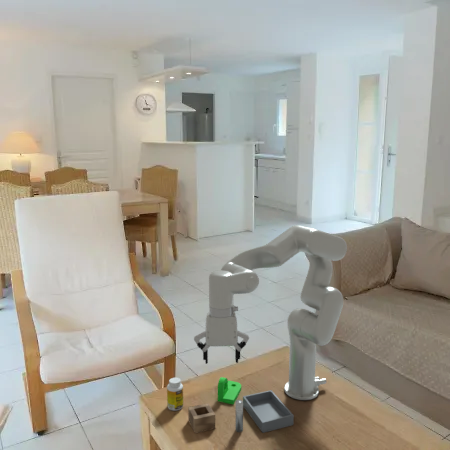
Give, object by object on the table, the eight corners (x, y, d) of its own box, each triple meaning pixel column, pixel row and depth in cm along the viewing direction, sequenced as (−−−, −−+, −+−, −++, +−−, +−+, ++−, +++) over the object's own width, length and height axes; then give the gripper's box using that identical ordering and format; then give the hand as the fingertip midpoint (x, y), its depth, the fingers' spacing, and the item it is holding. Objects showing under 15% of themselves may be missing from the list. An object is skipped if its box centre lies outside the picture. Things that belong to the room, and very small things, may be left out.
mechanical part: (233, 405, 163) (233, 384, 162) (217, 402, 165) (217, 381, 164) (243, 387, 174) (243, 368, 173) (228, 385, 176) (228, 366, 175)
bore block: (208, 416, 156) (208, 403, 155) (215, 428, 150) (215, 414, 149) (188, 420, 154) (188, 407, 153) (194, 433, 148) (194, 419, 147)
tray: (271, 399, 166) (271, 390, 166) (293, 425, 152) (293, 415, 151) (242, 405, 163) (242, 396, 162) (262, 432, 148) (262, 422, 147)
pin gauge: (241, 426, 151) (241, 399, 149) (244, 431, 149) (244, 403, 147) (234, 428, 150) (234, 400, 148) (237, 432, 148) (237, 404, 146)
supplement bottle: (176, 413, 158) (175, 386, 156) (164, 408, 161) (163, 381, 159) (186, 405, 163) (186, 379, 161) (174, 400, 166) (173, 374, 164)
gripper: (248, 305, 147) (247, 355, 150) (193, 306, 146) (194, 356, 150) (250, 314, 140) (249, 366, 143) (193, 315, 139) (194, 367, 142)
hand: (221, 361), depth 146 cm, fingers open, 9 cm apart
